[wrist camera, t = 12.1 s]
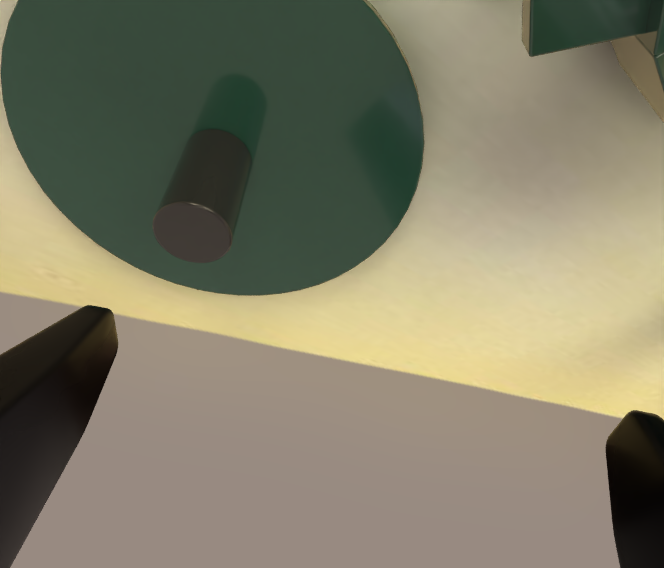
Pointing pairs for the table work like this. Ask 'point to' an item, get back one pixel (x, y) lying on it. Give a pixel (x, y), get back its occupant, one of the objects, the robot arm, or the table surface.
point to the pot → (604, 35)
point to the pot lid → (218, 133)
